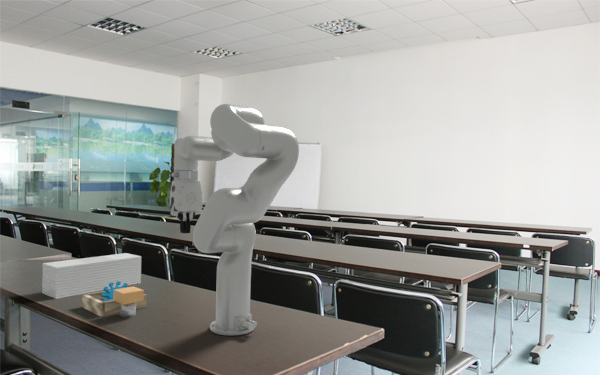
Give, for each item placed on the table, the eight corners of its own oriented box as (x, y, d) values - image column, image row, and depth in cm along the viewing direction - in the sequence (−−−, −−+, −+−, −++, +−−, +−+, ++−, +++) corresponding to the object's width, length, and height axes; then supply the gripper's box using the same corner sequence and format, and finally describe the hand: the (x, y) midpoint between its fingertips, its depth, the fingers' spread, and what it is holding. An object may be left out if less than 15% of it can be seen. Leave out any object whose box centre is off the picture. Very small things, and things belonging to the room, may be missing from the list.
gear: (102, 306, 139) (102, 279, 145) (98, 316, 142) (98, 289, 148) (139, 307, 144) (138, 280, 151) (134, 317, 148) (133, 290, 154)
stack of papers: (125, 279, 184) (126, 252, 183) (140, 283, 177) (141, 256, 177) (42, 293, 158) (42, 263, 158) (55, 299, 152) (56, 267, 152)
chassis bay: (146, 307, 145) (146, 294, 145) (100, 316, 134) (100, 303, 134) (126, 298, 154) (126, 287, 154) (81, 307, 143) (81, 294, 143)
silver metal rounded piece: (138, 315, 137) (139, 294, 137) (124, 318, 134) (125, 296, 133) (131, 311, 140) (131, 291, 140) (117, 314, 136) (118, 293, 136)
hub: (143, 300, 137) (143, 290, 137) (123, 304, 132) (123, 293, 132) (133, 296, 141) (133, 286, 141) (113, 300, 136) (113, 289, 136)
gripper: (173, 176, 138) (172, 235, 138) (211, 177, 150) (210, 232, 150) (159, 176, 143) (158, 233, 143) (197, 177, 155) (196, 230, 155)
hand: (185, 232), depth 147 cm, fingers closed
